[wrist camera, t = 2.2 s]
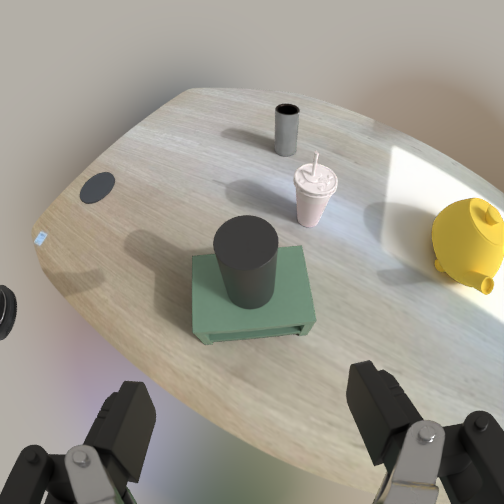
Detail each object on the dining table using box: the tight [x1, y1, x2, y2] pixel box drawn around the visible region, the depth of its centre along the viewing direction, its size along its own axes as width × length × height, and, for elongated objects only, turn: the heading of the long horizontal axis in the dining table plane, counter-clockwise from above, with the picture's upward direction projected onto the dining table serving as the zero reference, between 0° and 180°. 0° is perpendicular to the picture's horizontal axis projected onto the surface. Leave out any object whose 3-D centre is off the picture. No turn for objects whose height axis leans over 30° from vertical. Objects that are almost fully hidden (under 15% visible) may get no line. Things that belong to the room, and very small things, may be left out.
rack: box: [192, 245, 316, 345], centre depth 35 cm, size 14×10×7 cm
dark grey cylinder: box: [213, 215, 278, 310], centre depth 28 cm, size 6×6×10 cm
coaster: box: [80, 172, 115, 204], centre depth 52 cm, size 9×9×1 cm
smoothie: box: [293, 151, 338, 227], centre depth 40 cm, size 6×6×14 cm
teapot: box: [432, 198, 504, 295], centre depth 34 cm, size 20×16×14 cm
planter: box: [275, 104, 300, 156], centre depth 51 cm, size 4×4×10 cm
